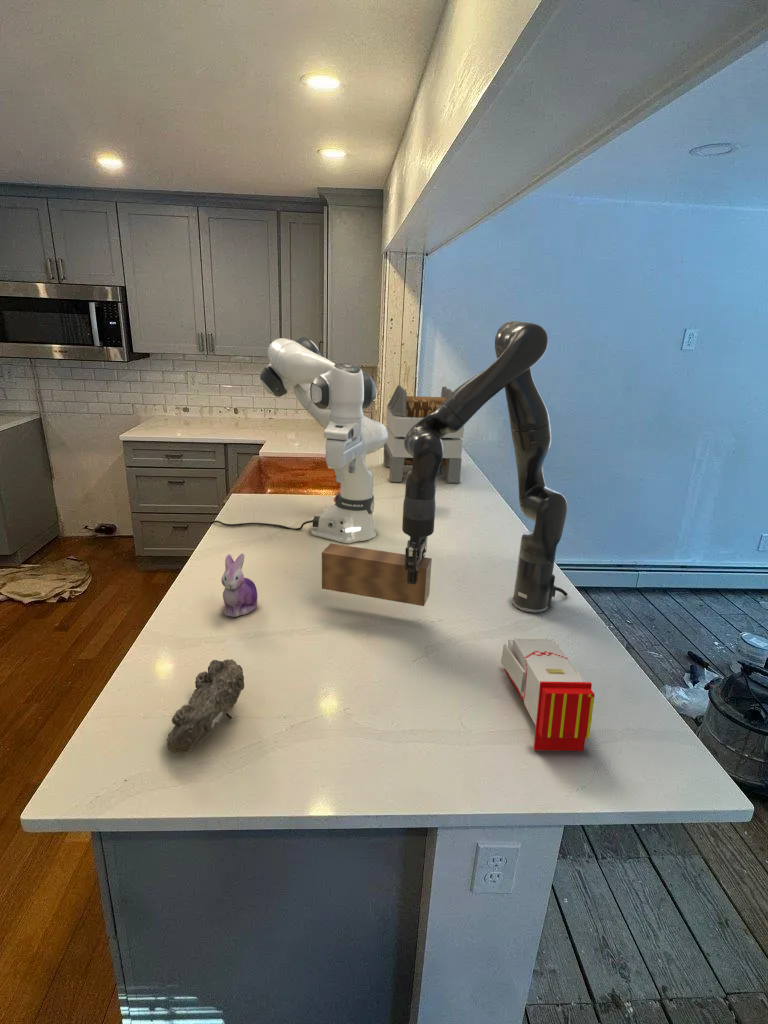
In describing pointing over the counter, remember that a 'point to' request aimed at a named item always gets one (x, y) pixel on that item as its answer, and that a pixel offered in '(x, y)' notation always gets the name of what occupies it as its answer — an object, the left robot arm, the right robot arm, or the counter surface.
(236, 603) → the figurine
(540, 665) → the toy
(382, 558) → the box
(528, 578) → the right robot arm
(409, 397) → the grey boxy stand
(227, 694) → the fossil
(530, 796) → the counter surface
